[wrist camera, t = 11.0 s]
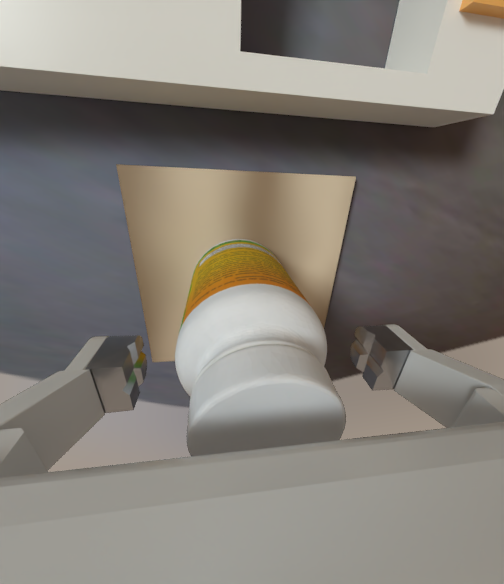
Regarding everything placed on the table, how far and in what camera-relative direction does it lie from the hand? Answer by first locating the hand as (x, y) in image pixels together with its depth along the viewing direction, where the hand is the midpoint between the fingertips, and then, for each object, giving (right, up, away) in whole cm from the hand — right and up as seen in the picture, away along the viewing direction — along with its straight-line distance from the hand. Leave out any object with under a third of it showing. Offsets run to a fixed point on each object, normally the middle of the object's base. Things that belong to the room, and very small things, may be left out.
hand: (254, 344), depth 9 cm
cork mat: (-1, +3, +6) cm, 6 cm away
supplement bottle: (-1, +3, +6) cm, 6 cm away
